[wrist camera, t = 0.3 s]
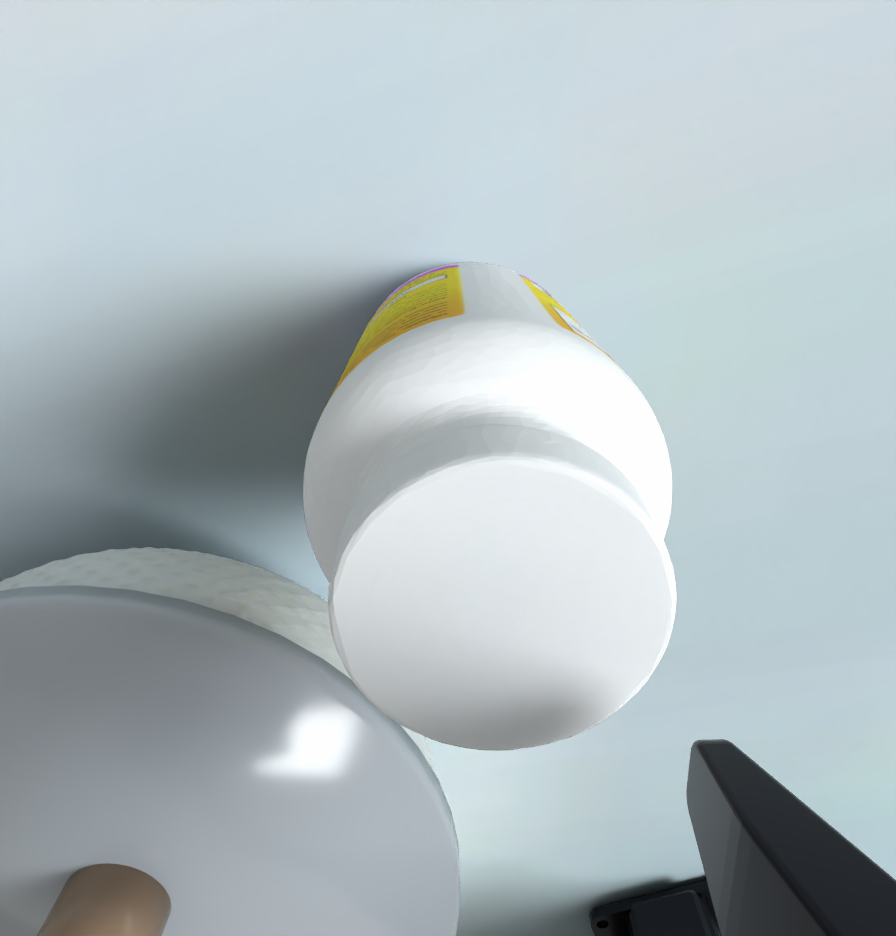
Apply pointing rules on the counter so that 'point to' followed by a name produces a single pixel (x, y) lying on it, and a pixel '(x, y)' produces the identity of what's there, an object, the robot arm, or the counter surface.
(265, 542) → the counter surface
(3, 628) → the lid
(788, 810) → the robot arm
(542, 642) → the supplement bottle
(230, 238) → the counter surface
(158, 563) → the cereal bowl
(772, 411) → the counter surface
